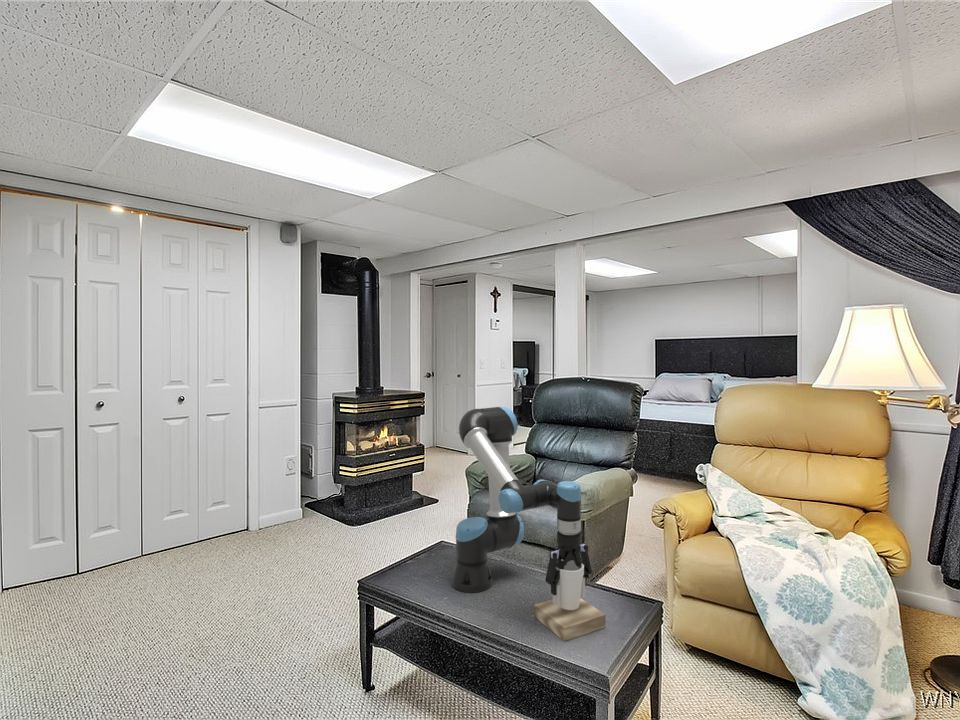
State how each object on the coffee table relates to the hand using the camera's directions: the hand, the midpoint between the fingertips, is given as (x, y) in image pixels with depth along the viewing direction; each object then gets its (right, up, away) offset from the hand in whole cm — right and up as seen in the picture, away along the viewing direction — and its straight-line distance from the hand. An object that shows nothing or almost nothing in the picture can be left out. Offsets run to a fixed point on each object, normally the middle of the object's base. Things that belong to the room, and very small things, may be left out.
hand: (569, 600), depth 167 cm
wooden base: (0, -7, 0) cm, 7 cm away
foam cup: (0, -2, 0) cm, 2 cm away
